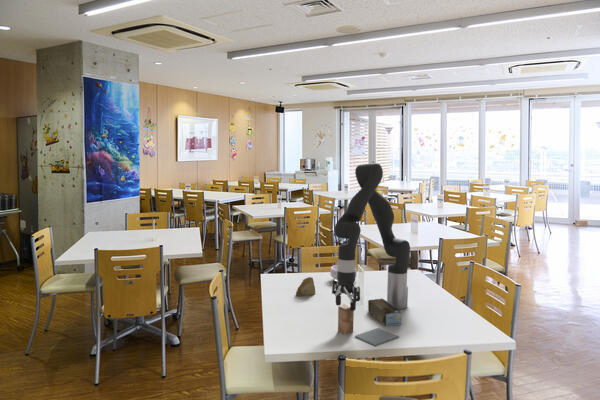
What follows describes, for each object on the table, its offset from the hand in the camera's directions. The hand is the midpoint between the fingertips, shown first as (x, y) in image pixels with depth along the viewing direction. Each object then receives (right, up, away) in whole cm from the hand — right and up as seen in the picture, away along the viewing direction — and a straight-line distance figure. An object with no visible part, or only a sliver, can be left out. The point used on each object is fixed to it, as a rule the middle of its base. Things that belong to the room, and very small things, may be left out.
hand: (345, 307), depth 189 cm
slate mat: (+12, -11, -5) cm, 17 cm away
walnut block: (0, -10, +1) cm, 10 cm away
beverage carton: (+19, -9, +17) cm, 27 cm away
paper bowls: (+7, -3, +77) cm, 77 cm away
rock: (-16, -5, +50) cm, 53 cm away
